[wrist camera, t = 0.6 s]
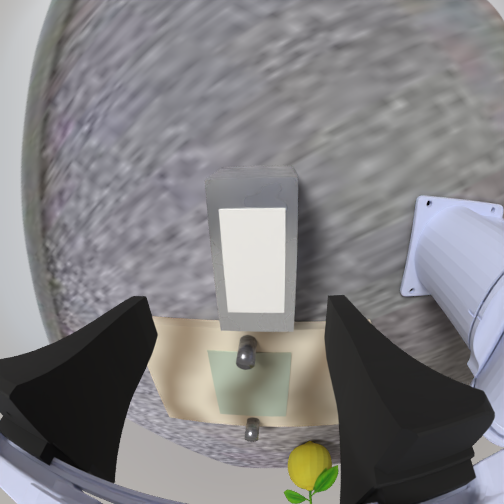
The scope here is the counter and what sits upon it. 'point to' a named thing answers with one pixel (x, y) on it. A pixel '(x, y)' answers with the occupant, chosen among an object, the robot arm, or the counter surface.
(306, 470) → the lemon
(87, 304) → the counter surface
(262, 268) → the block
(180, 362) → the pin tray
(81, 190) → the counter surface
